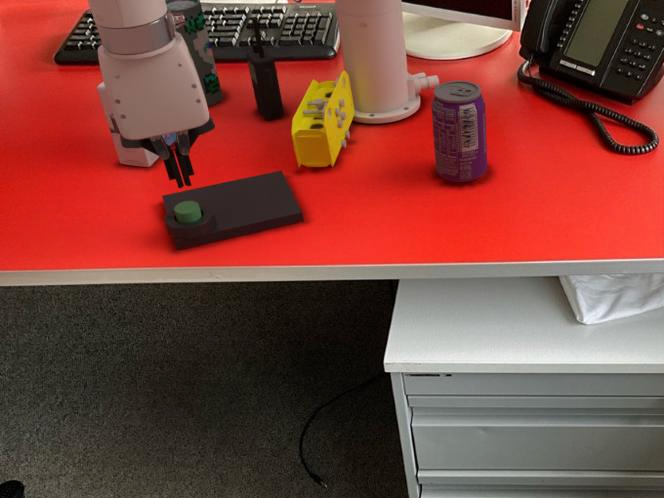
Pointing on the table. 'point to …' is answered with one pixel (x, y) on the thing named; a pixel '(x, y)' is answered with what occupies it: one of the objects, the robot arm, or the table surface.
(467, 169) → the beverage can
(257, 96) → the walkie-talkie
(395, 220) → the table surface
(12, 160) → the table surface
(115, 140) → the ink box
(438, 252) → the table surface
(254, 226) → the scale
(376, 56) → the robot arm
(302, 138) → the yellow toy chassis
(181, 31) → the can
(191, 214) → the button
